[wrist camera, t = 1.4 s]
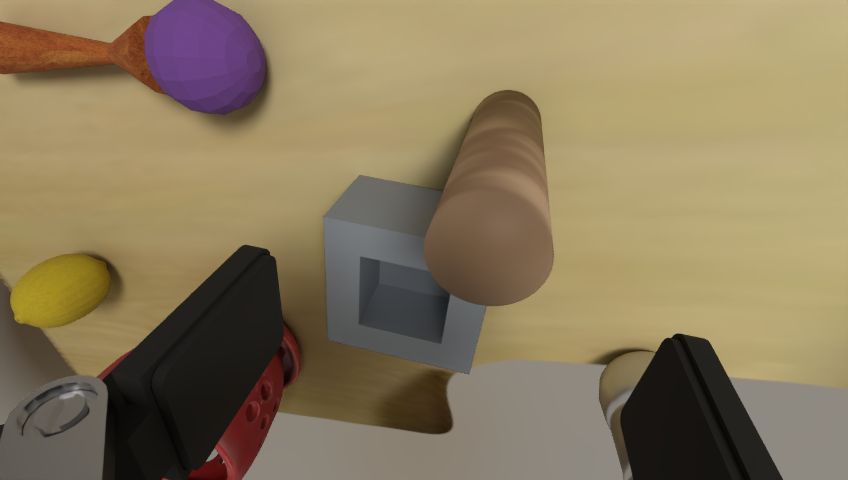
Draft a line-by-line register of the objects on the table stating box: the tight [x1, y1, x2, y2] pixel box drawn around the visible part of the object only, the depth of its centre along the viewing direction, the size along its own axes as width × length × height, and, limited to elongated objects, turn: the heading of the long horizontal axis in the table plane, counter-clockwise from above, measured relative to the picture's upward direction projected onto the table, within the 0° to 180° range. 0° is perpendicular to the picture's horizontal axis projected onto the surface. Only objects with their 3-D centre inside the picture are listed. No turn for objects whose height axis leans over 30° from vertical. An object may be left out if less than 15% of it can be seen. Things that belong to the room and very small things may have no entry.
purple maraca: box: [0, 0, 266, 115], centre depth 25 cm, size 6×6×20 cm
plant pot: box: [96, 324, 301, 480], centre depth 35 cm, size 13×13×12 cm
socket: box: [324, 175, 486, 374], centre depth 28 cm, size 10×10×6 cm
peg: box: [424, 90, 554, 306], centre depth 19 cm, size 4×4×14 cm
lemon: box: [10, 254, 111, 328], centre depth 36 cm, size 6×6×8 cm
